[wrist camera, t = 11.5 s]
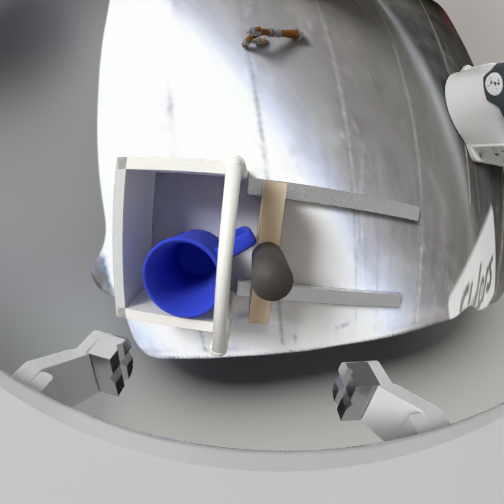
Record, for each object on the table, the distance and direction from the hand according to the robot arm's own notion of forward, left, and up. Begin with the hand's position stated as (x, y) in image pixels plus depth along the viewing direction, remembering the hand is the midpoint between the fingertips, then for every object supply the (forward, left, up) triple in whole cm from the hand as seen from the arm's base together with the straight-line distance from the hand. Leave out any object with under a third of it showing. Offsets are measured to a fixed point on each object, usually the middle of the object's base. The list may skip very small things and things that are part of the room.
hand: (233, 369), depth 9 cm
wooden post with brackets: (-1, -27, -26) cm, 38 cm away
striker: (-2, 0, -24) cm, 25 cm away
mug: (+4, +2, -26) cm, 26 cm away
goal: (+8, 0, -26) cm, 27 cm away
